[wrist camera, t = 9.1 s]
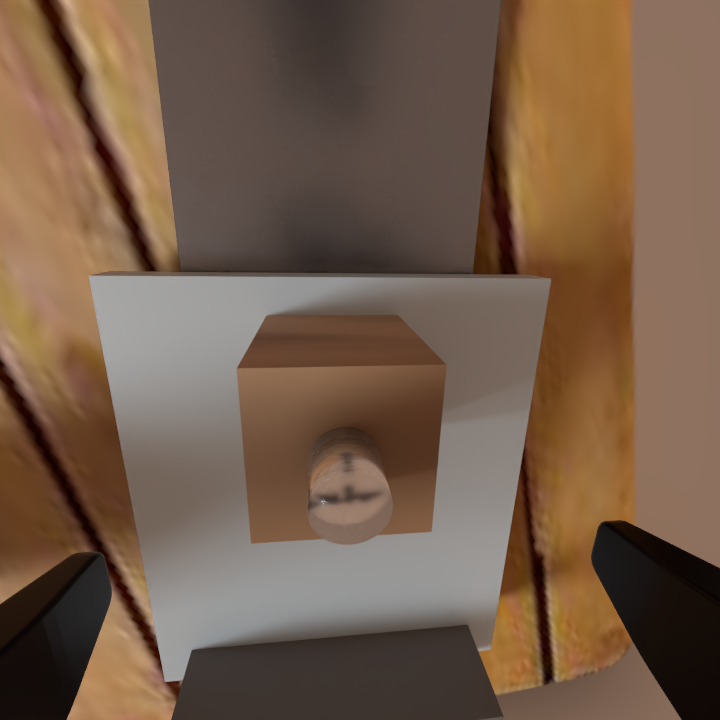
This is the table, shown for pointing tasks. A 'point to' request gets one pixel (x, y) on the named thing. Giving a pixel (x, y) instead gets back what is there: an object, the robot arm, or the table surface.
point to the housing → (339, 428)
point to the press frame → (326, 132)
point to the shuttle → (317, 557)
